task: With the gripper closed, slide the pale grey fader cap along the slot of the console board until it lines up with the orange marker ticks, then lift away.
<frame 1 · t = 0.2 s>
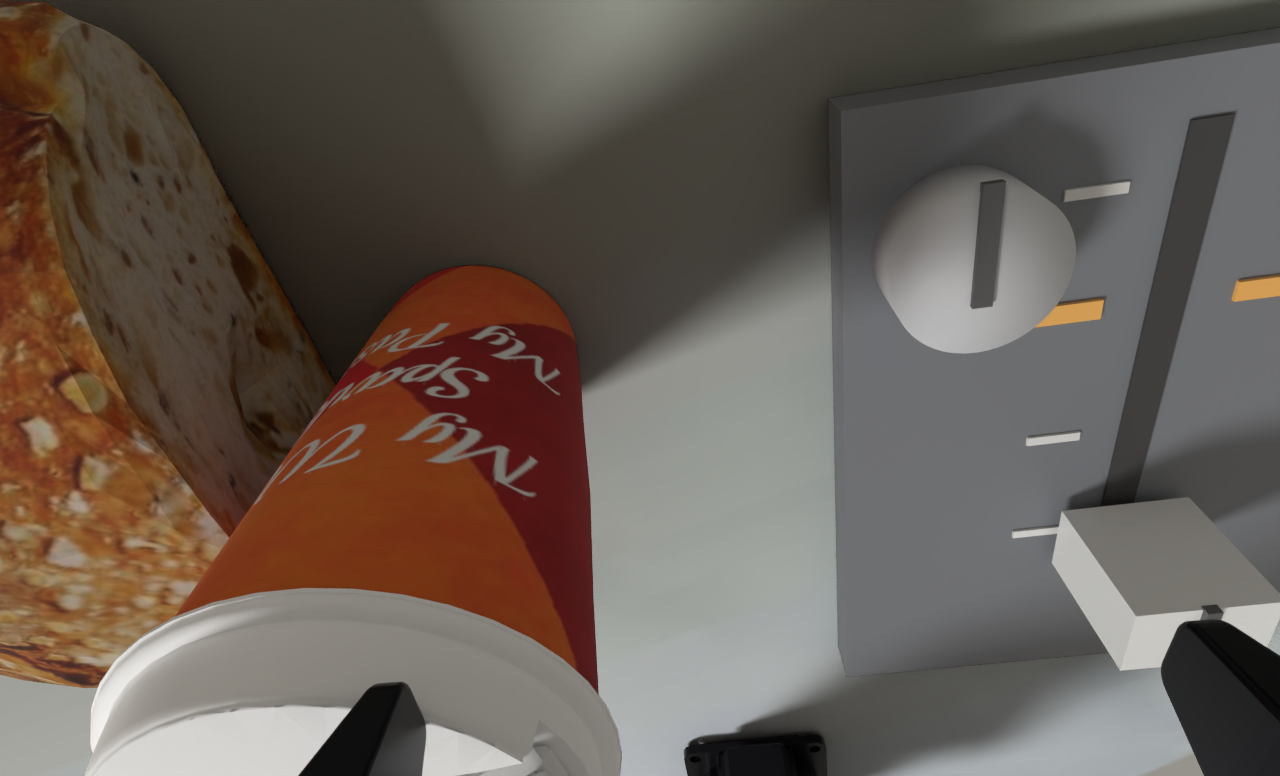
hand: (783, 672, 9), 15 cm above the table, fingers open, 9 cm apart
fader: (1157, 582, 23), point 4 cm above the table, slide at 0.0 cm
console: (1078, 405, 25), on the table
bread: (85, 346, 24), on the table
coffee cup: (482, 348, 24), on the table, touching gripper
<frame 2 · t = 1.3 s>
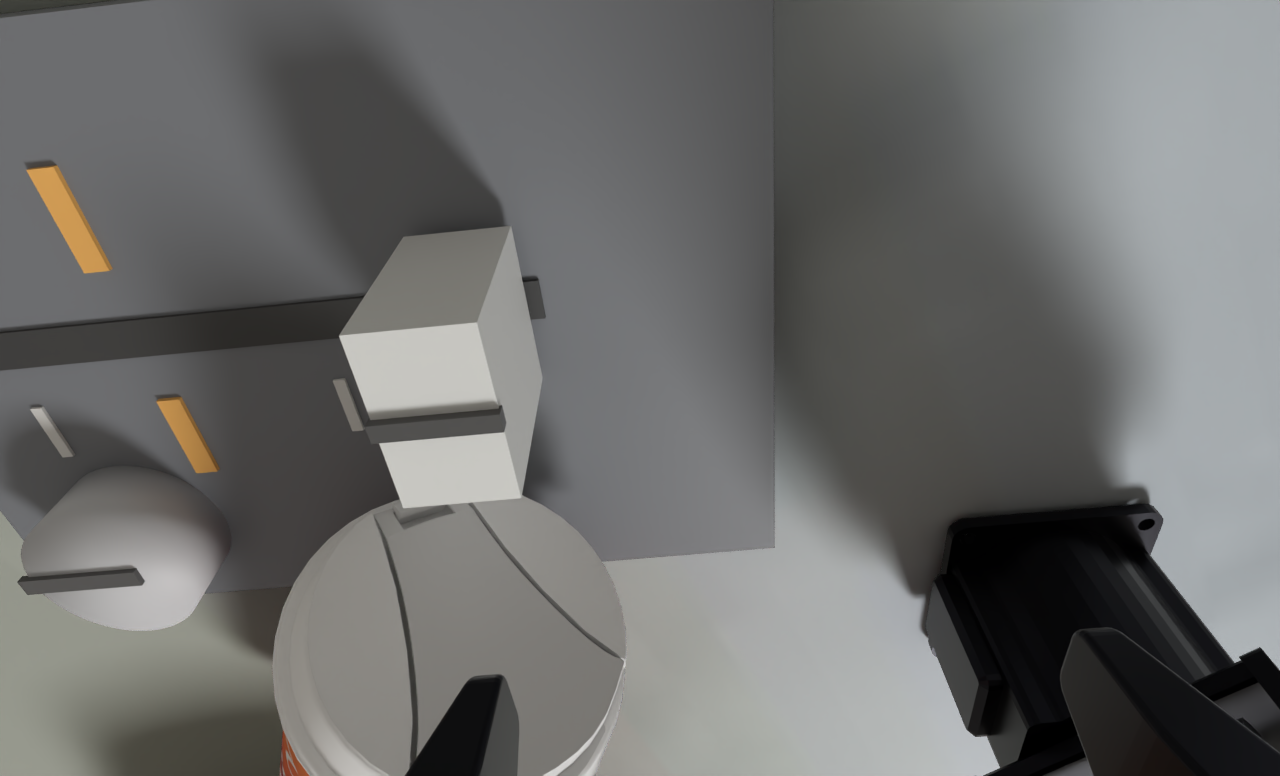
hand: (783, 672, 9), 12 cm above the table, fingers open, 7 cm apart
fader: (458, 363, 16), point 4 cm above the table, slide at 0.0 cm
console: (349, 325, 20), on the table
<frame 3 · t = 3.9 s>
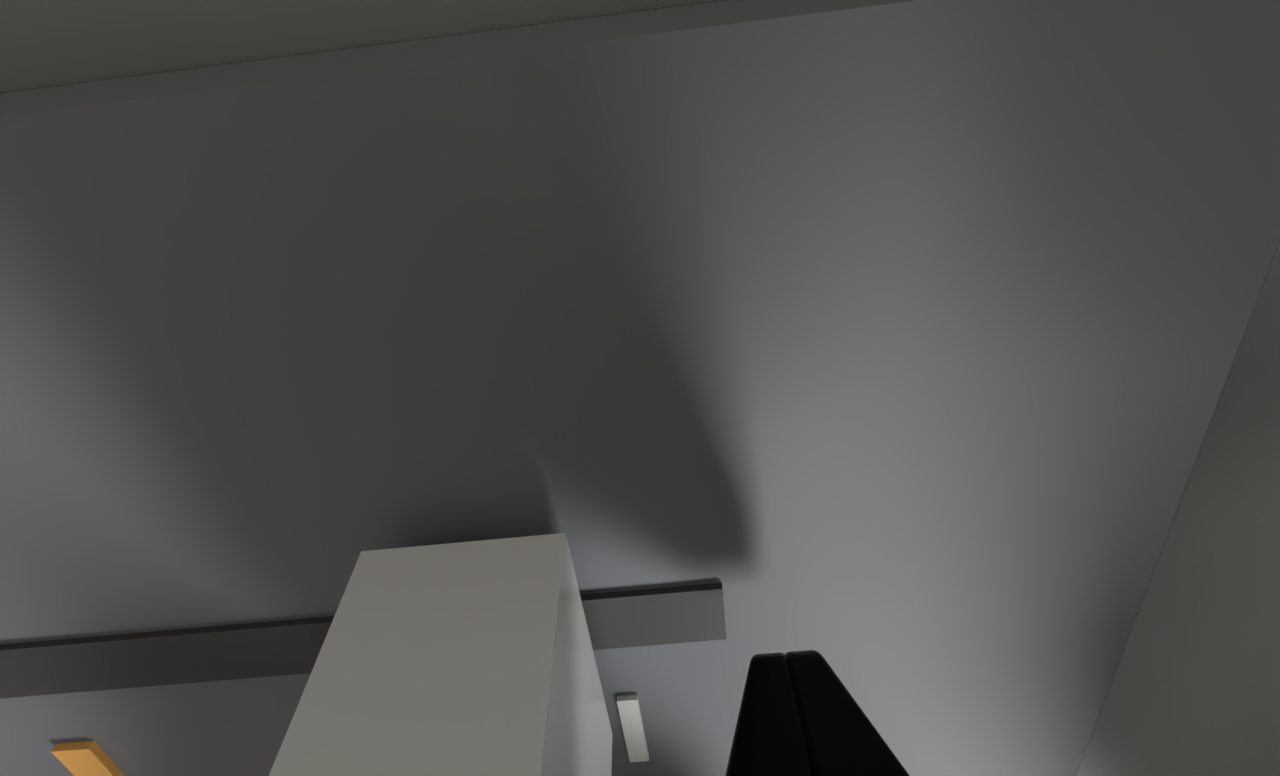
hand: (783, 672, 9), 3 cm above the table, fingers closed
console: (374, 604, 12), on the table
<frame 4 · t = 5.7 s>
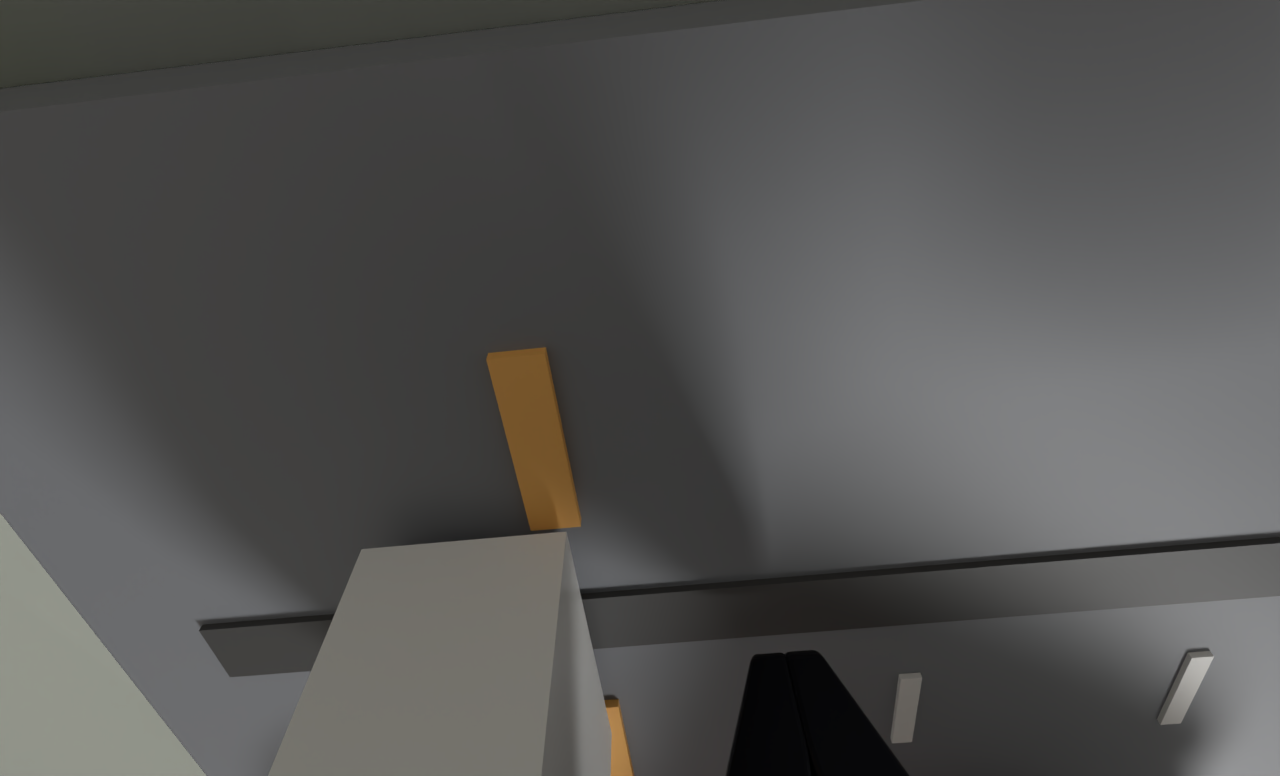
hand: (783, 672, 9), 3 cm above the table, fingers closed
console: (883, 560, 12), on the table
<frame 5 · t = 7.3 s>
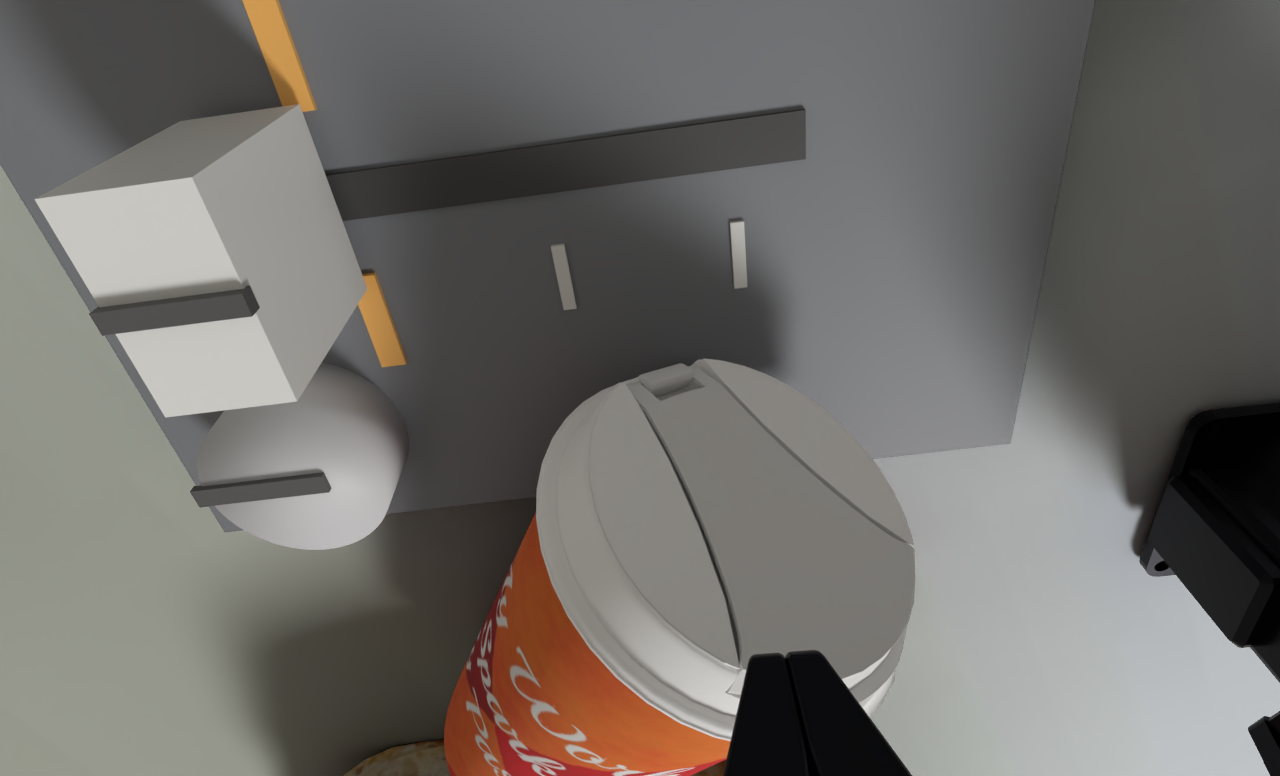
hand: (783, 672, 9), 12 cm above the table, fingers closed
fader: (233, 255, 14), point 4 cm above the table, slide at 9.5 cm
console: (556, 191, 17), on the table
coffee cup: (533, 737, 25), point 3 cm above the table, touching console
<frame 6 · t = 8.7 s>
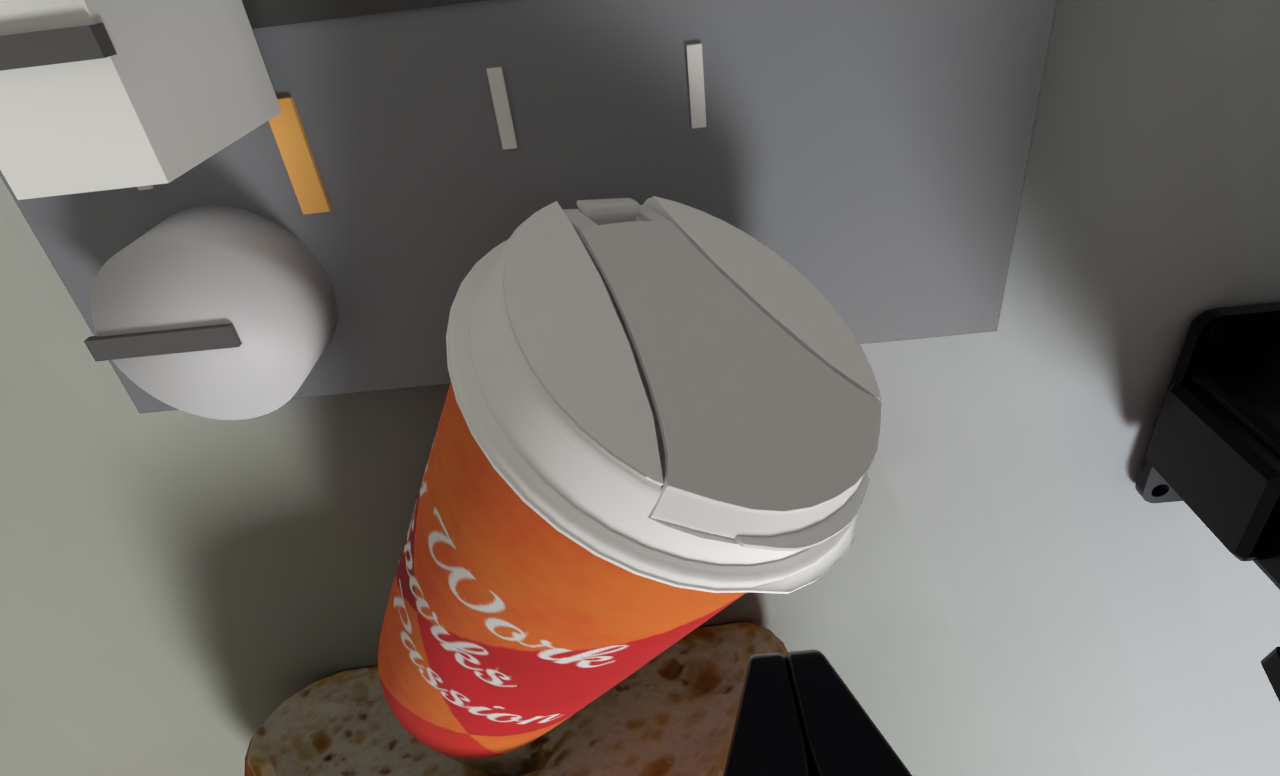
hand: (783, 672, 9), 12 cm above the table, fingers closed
fader: (107, 27, 12), point 4 cm above the table, slide at 9.5 cm
console: (498, 18, 16), on the table
bread: (547, 751, 32), on the table
coffee cup: (477, 660, 23), point 3 cm above the table, touching console
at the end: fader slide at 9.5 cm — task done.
